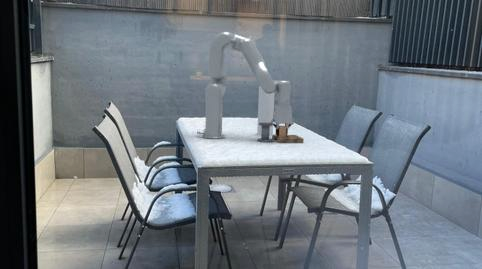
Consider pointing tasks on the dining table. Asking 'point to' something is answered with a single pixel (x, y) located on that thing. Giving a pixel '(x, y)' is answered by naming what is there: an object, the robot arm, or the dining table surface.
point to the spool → (265, 132)
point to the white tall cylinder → (265, 110)
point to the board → (288, 139)
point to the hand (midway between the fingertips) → (281, 135)
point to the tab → (282, 131)
